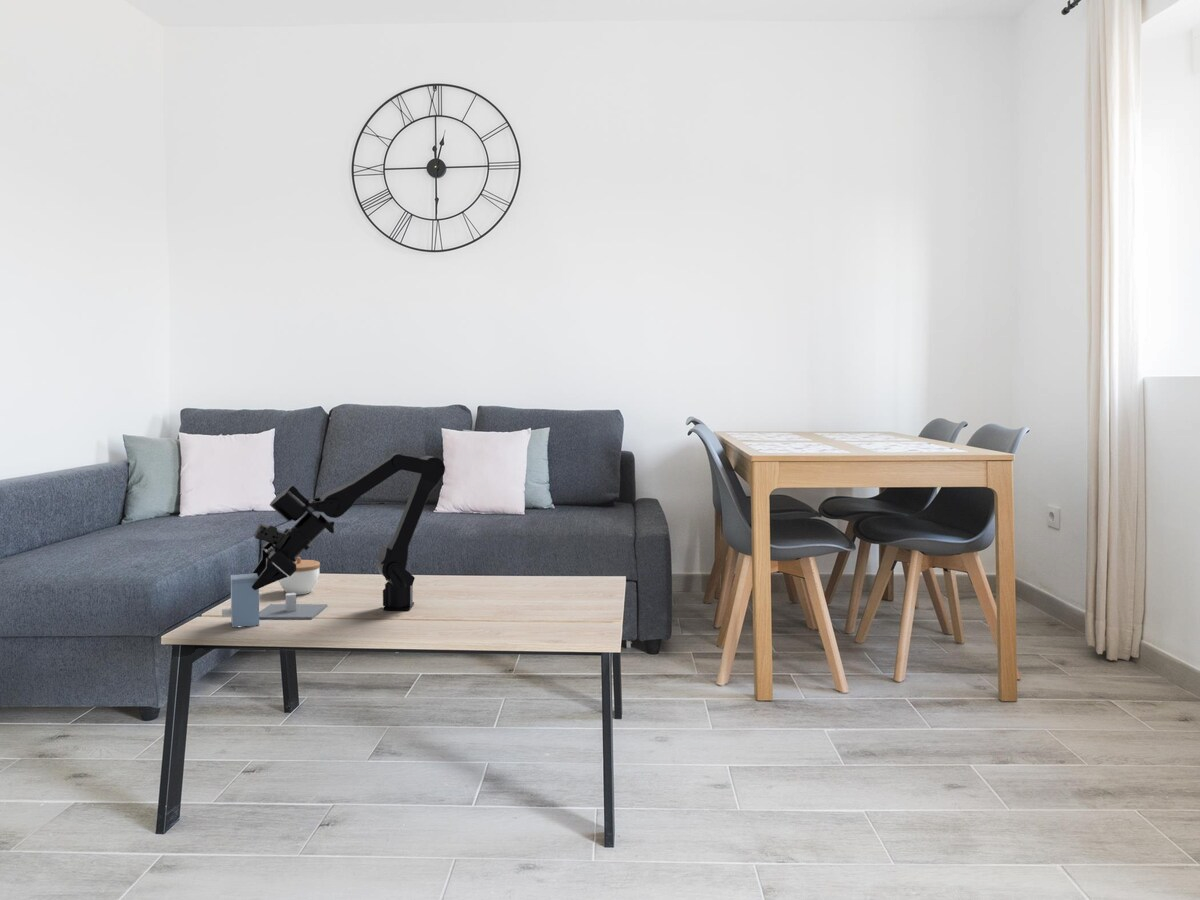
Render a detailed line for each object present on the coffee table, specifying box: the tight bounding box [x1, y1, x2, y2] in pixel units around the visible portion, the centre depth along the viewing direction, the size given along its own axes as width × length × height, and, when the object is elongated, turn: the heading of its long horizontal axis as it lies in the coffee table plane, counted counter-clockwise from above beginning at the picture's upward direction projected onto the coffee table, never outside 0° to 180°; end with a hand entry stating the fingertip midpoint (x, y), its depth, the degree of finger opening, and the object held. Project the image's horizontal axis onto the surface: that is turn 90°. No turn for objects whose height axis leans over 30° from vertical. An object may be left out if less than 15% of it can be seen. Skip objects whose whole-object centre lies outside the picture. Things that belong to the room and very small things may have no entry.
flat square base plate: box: [259, 592, 328, 620], centre depth 195 cm, size 14×12×4 cm
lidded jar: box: [278, 556, 321, 596], centre depth 215 cm, size 11×11×9 cm
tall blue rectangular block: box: [221, 572, 260, 628], centre depth 184 cm, size 8×6×11 cm
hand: (251, 584), depth 185 cm, fingers open, 9 cm apart
